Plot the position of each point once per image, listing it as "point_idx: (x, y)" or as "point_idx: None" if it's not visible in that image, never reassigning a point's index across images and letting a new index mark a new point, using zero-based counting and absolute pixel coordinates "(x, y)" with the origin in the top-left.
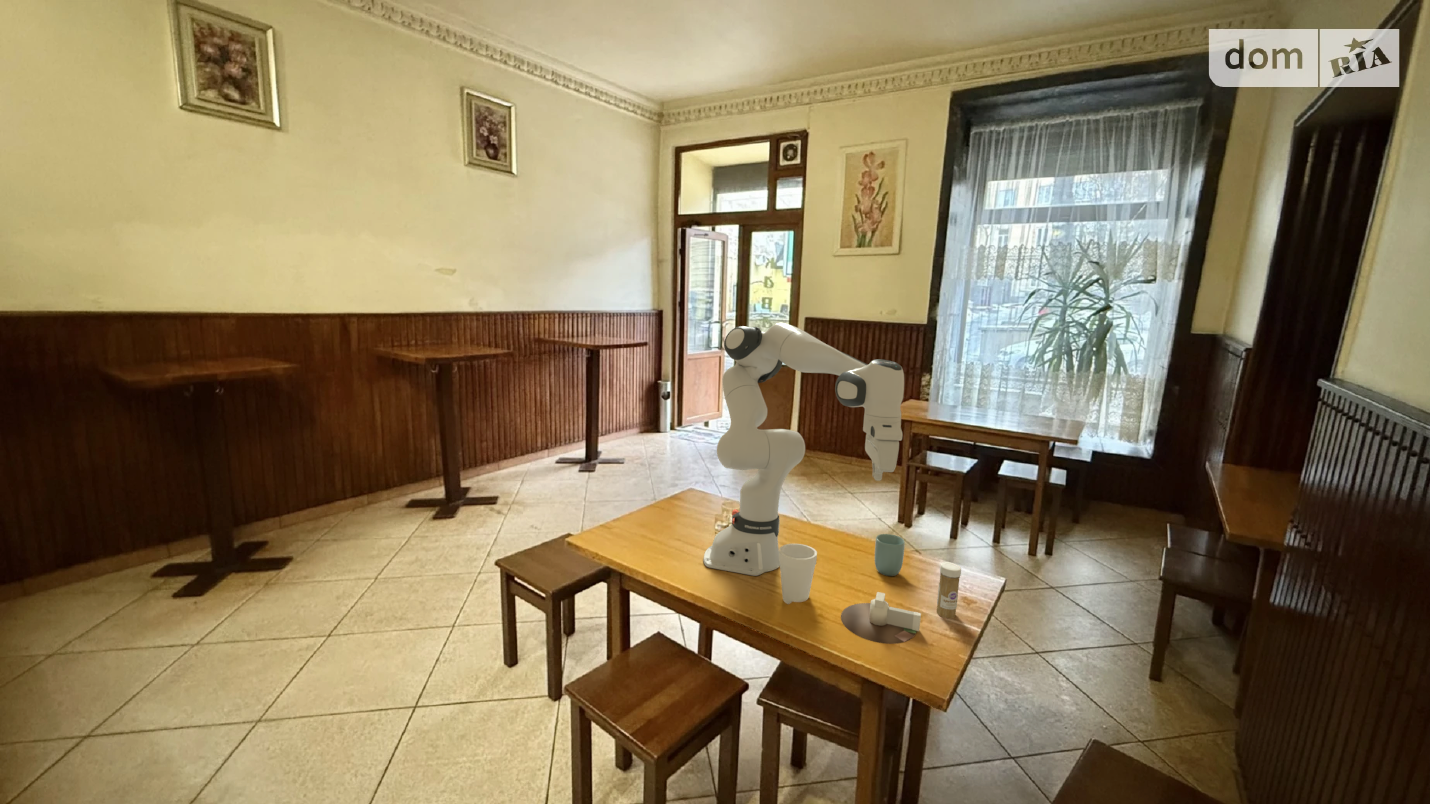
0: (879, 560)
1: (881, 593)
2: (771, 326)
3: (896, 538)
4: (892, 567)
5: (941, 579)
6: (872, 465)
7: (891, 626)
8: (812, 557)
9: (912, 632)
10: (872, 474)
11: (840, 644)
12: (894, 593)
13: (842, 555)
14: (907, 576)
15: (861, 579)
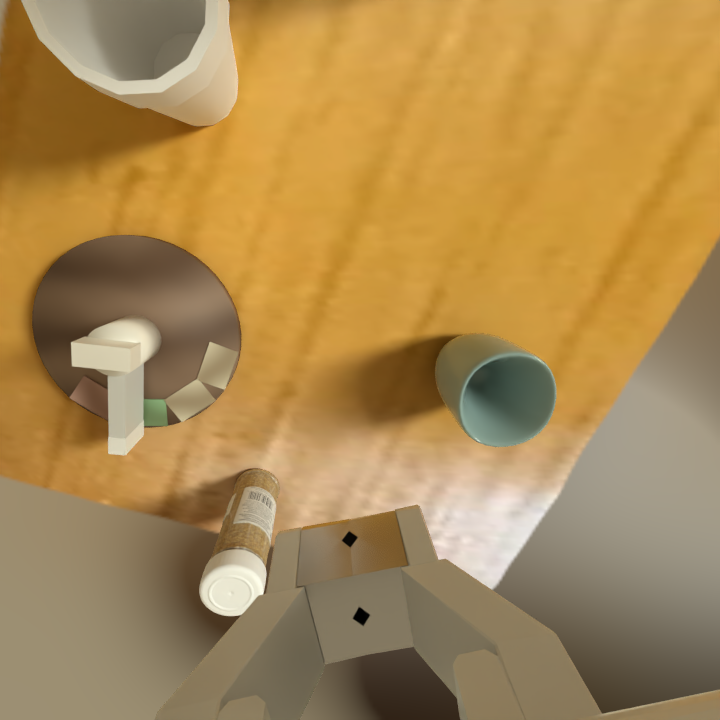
0: (450, 350)
1: (124, 361)
2: None
3: (536, 420)
4: (437, 385)
5: (227, 539)
6: (483, 608)
7: None
8: (78, 72)
9: None
10: (421, 516)
11: (7, 239)
12: (344, 379)
13: (557, 227)
14: None
15: (401, 290)
